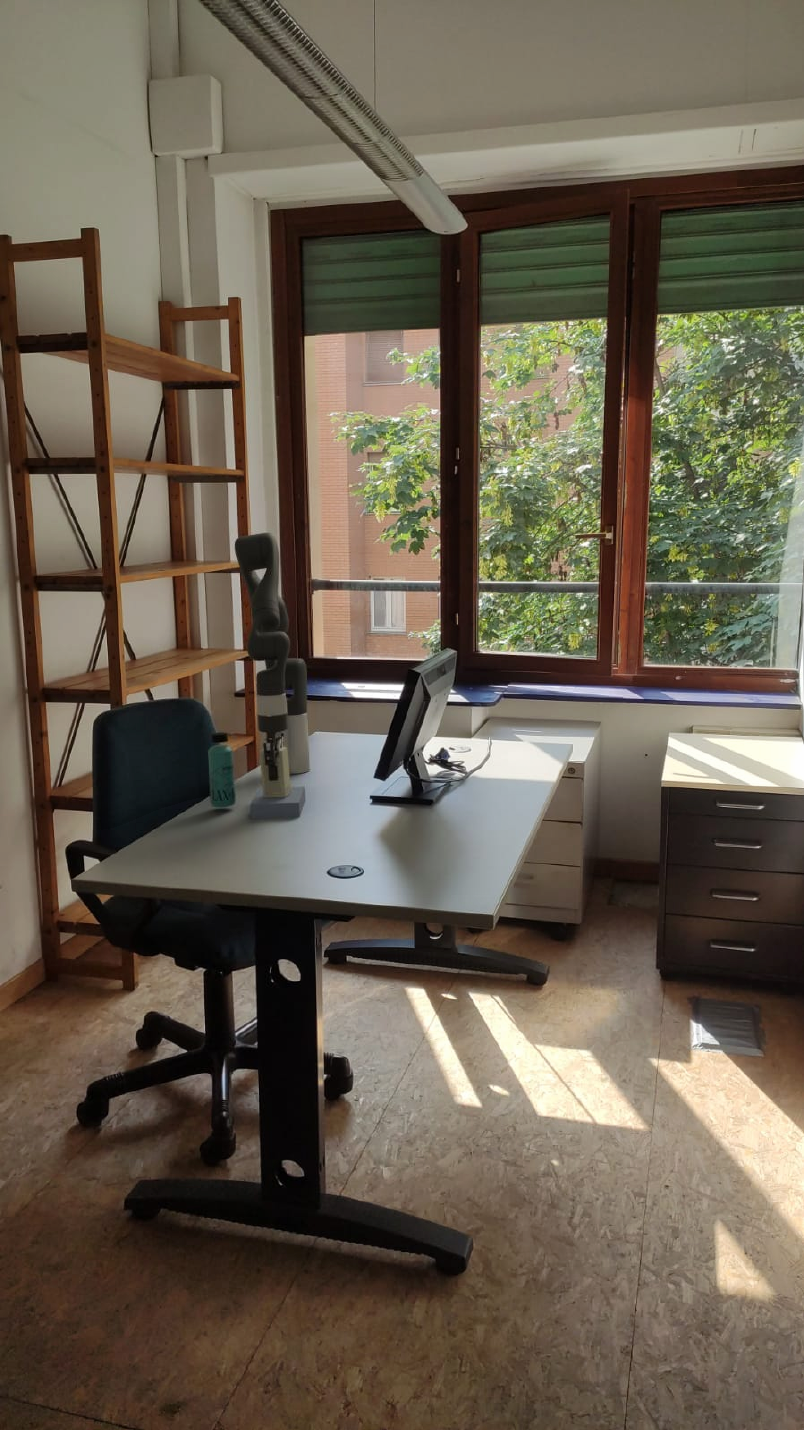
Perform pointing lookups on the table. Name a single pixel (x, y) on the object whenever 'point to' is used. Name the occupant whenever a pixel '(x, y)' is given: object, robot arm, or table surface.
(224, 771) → the beverage bottle
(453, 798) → the table surface
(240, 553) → the robot arm
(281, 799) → the flat grey slab
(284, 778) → the skincare box
